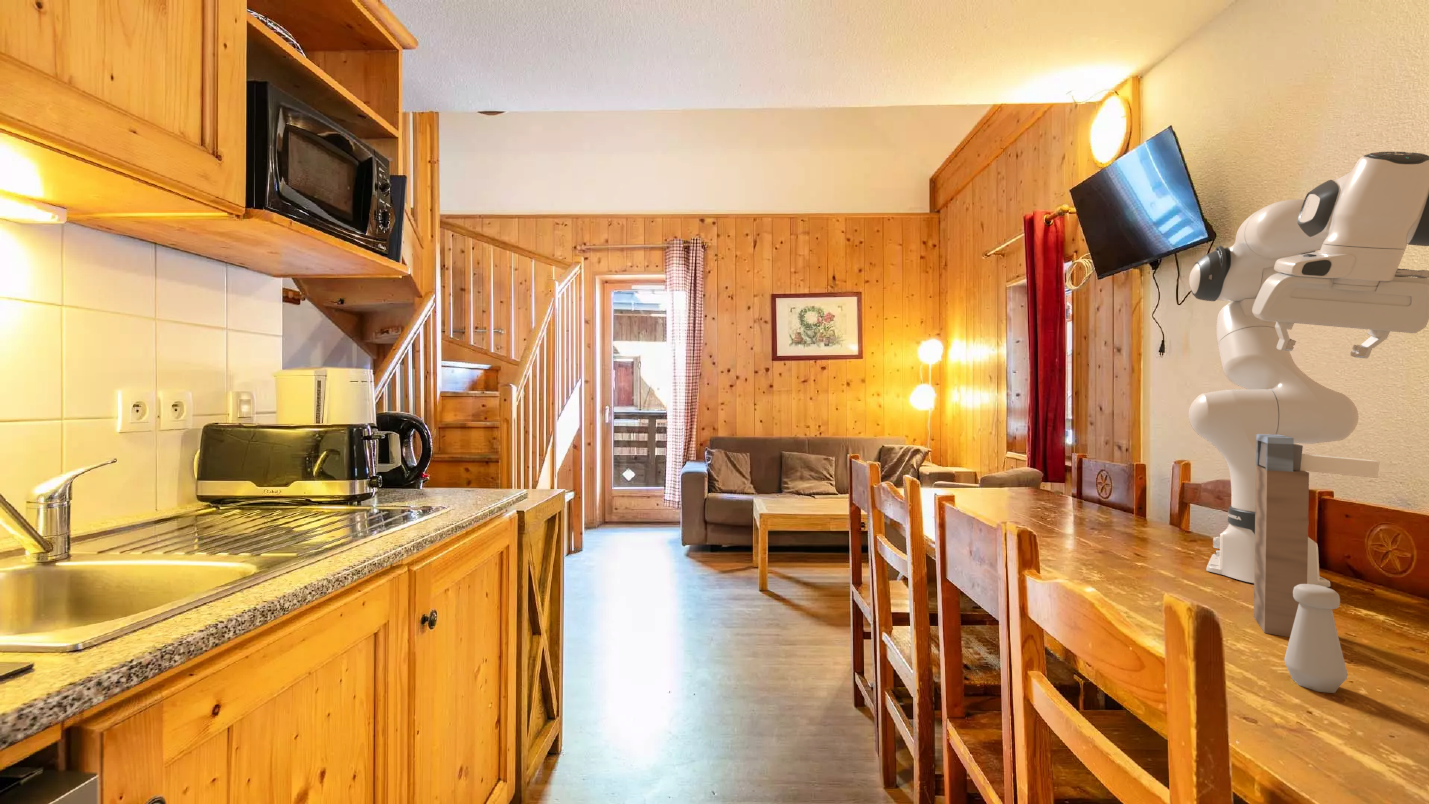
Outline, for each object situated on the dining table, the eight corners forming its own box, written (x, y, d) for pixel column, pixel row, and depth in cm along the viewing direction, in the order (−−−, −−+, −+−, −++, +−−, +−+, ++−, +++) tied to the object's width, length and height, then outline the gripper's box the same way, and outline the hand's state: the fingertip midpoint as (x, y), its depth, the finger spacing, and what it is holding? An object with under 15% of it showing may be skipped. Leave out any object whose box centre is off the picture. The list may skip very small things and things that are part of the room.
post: (1253, 616, 101) (1256, 434, 100) (1292, 622, 98) (1295, 435, 98) (1264, 632, 94) (1267, 437, 94) (1306, 639, 92) (1309, 438, 91)
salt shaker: (1360, 698, 74) (1362, 595, 74) (1306, 694, 75) (1308, 592, 75) (1322, 676, 80) (1324, 581, 80) (1273, 672, 81) (1274, 578, 81)
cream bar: (1258, 464, 99) (1261, 440, 99) (1367, 475, 92) (1370, 449, 92) (1265, 467, 95) (1268, 442, 95) (1380, 479, 88) (1383, 452, 88)
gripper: (1431, 269, 90) (1392, 357, 94) (1264, 259, 96) (1236, 341, 101) (1462, 273, 84) (1420, 367, 89) (1282, 263, 91) (1252, 350, 96)
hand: (1320, 353), depth 95 cm, fingers open, 8 cm apart
